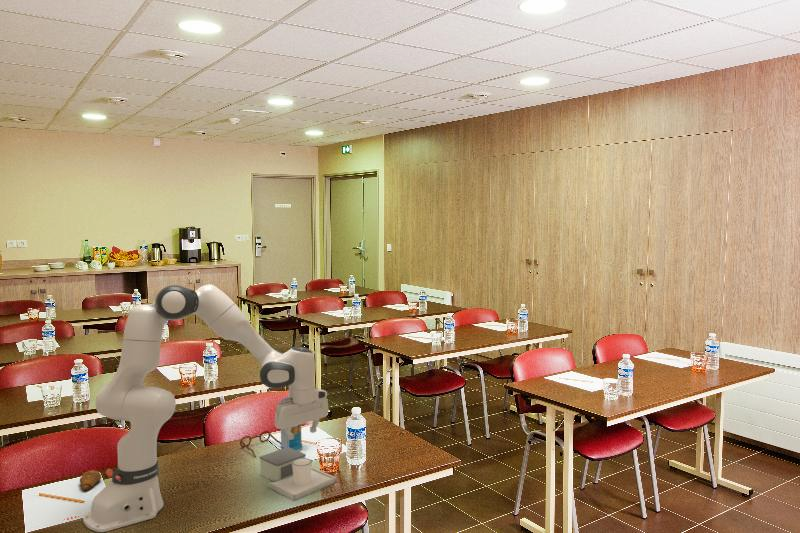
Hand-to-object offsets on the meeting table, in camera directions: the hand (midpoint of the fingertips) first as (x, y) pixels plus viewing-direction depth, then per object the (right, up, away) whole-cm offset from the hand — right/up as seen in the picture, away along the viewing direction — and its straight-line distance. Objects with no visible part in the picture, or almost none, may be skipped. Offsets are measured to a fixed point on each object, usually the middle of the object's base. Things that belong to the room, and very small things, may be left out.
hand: (302, 435), depth 200 cm
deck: (-4, -17, +5) cm, 18 cm away
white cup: (0, -17, +2) cm, 17 cm away
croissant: (-73, -18, +3) cm, 75 cm away
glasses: (-21, -16, +34) cm, 43 cm away
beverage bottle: (-10, -15, +34) cm, 38 cm away
